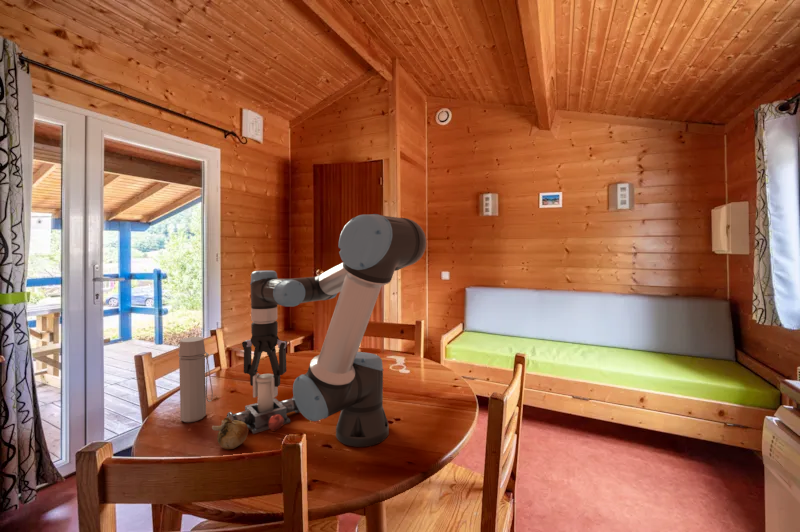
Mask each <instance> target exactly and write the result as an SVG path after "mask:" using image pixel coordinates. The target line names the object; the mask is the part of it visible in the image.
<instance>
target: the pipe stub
mask: <svg viewBox="0 0 800 532" xmlns="http://www.w3.org/2000/svg"><path fill="white" fill-rule="evenodd" d="M273 375H274V374H273V373H263V374H259V376H257V377H256V382H257V386H258V396H257V403H258V414H259V413H263V412H267V411H270V410H274V398H272V396H271V377H272V376H273Z"/></svg>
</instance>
